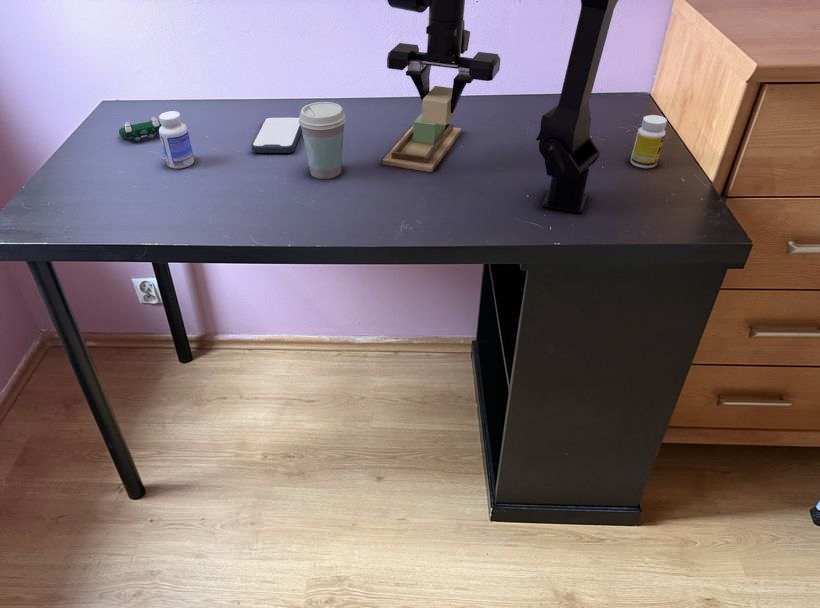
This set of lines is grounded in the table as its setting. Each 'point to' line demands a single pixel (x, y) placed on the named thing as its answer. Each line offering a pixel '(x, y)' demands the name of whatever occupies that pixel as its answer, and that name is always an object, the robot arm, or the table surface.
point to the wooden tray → (421, 150)
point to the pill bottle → (175, 140)
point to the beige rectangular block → (437, 106)
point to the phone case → (277, 135)
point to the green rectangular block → (427, 131)
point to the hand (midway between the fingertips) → (439, 110)
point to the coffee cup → (323, 137)
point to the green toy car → (140, 129)
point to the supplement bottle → (649, 142)
